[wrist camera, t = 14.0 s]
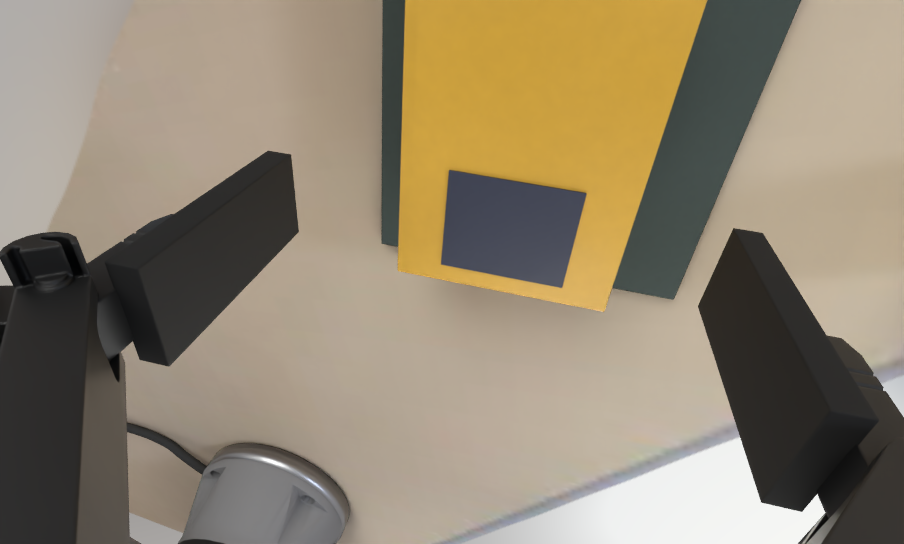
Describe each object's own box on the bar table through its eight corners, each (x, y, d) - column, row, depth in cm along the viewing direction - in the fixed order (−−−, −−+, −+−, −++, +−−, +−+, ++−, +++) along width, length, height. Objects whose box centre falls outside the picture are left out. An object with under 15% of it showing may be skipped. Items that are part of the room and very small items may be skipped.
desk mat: (384, 239, 33) (381, 243, 32) (388, -170, 21) (383, -173, 21) (672, 294, 30) (674, 300, 30) (852, -133, 19) (858, -135, 18)
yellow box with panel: (445, -111, 21) (407, -122, 17) (704, -86, 20) (738, -91, 15) (425, 221, 30) (396, 272, 26) (601, 254, 29) (604, 313, 25)
